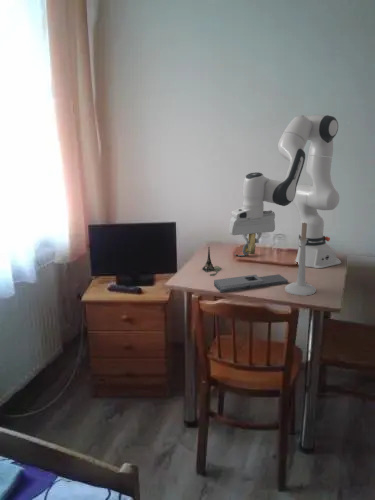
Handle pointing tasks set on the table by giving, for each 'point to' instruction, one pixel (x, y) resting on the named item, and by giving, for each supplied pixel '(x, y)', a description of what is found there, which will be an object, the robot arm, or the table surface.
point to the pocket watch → (244, 250)
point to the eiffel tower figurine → (210, 265)
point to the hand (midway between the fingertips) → (251, 243)
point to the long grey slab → (248, 282)
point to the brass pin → (251, 243)
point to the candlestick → (301, 271)
